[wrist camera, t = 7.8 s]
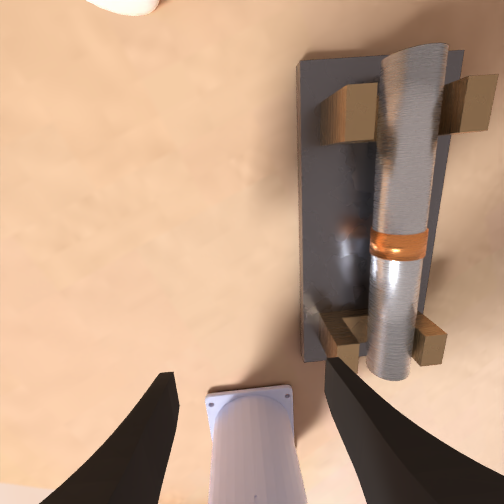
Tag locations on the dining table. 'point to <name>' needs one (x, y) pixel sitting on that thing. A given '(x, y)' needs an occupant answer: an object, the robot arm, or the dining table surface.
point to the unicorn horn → (127, 6)
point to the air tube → (402, 201)
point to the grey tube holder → (361, 197)
